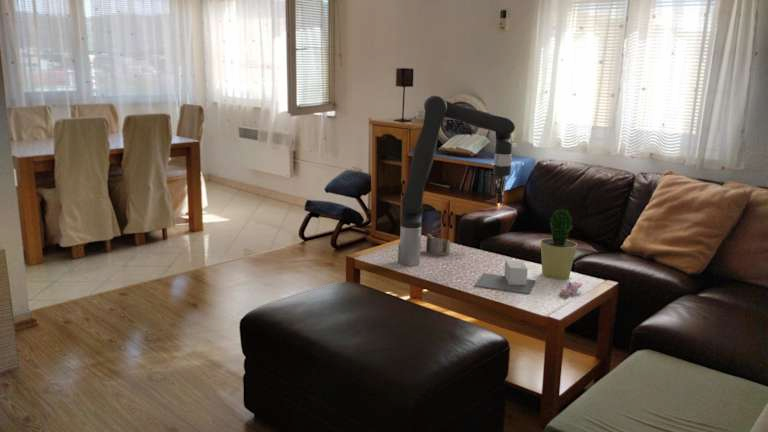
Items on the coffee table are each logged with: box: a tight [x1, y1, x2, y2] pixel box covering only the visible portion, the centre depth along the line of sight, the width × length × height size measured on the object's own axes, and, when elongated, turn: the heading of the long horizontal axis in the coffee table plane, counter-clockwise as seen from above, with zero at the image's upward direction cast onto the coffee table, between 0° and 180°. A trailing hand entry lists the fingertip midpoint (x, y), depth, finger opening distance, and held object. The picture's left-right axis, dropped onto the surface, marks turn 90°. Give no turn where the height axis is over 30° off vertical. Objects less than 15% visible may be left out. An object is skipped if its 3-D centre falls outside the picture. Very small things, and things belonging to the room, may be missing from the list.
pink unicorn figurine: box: [557, 281, 583, 299], centre depth 251 cm, size 6×6×15 cm
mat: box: [473, 272, 536, 295], centre depth 260 cm, size 22×18×1 cm
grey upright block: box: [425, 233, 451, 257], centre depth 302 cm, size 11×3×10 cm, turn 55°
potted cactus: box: [539, 208, 578, 281], centre depth 271 cm, size 15×15×30 cm
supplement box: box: [503, 259, 528, 285], centre depth 263 cm, size 7×7×13 cm
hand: (499, 202), depth 279 cm, fingers closed
